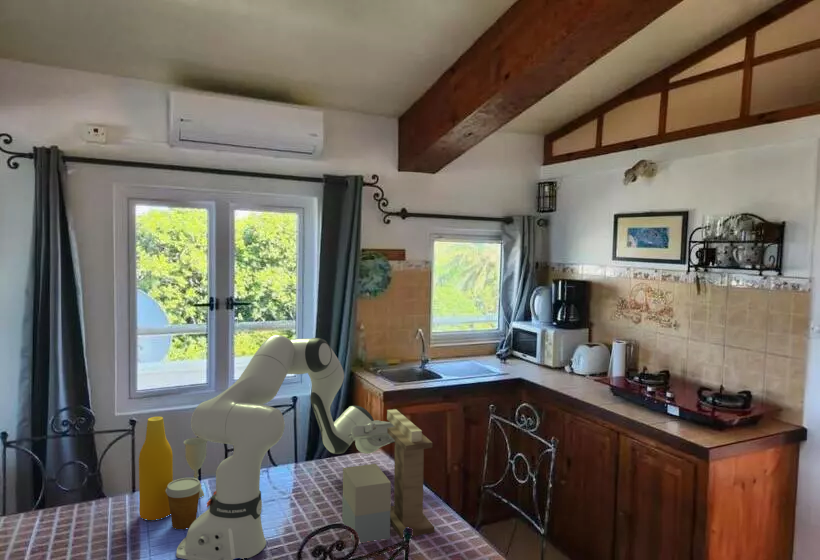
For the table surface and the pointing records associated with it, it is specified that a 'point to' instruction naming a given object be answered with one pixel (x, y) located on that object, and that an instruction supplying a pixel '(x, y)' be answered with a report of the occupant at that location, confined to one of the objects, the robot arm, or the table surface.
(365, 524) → the tower base block
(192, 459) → the chalice
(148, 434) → the beer bottle
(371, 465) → the tower top block
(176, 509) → the disposable coffee cup
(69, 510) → the table surface
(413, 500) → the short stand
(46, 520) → the table surface
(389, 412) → the batten
